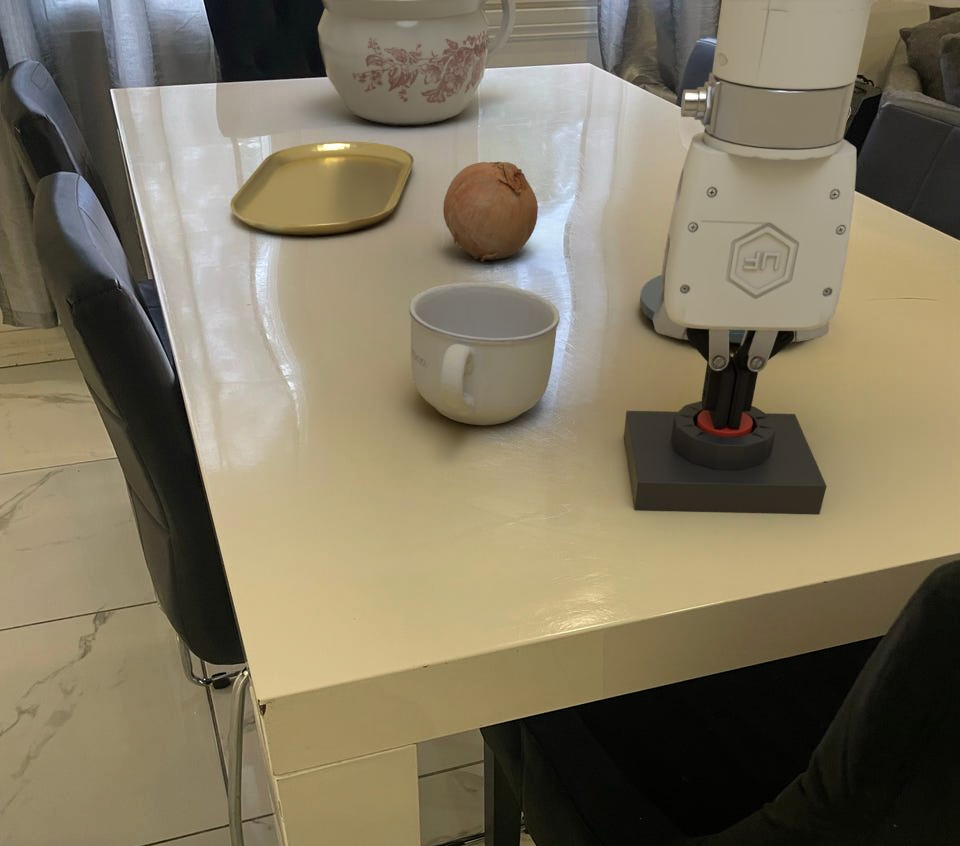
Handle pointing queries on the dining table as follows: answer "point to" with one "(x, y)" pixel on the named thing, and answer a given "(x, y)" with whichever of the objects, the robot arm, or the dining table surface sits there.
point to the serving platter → (323, 188)
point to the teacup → (482, 350)
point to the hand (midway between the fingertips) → (723, 419)
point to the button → (707, 426)
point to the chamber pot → (408, 55)
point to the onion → (490, 210)
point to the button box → (720, 465)
